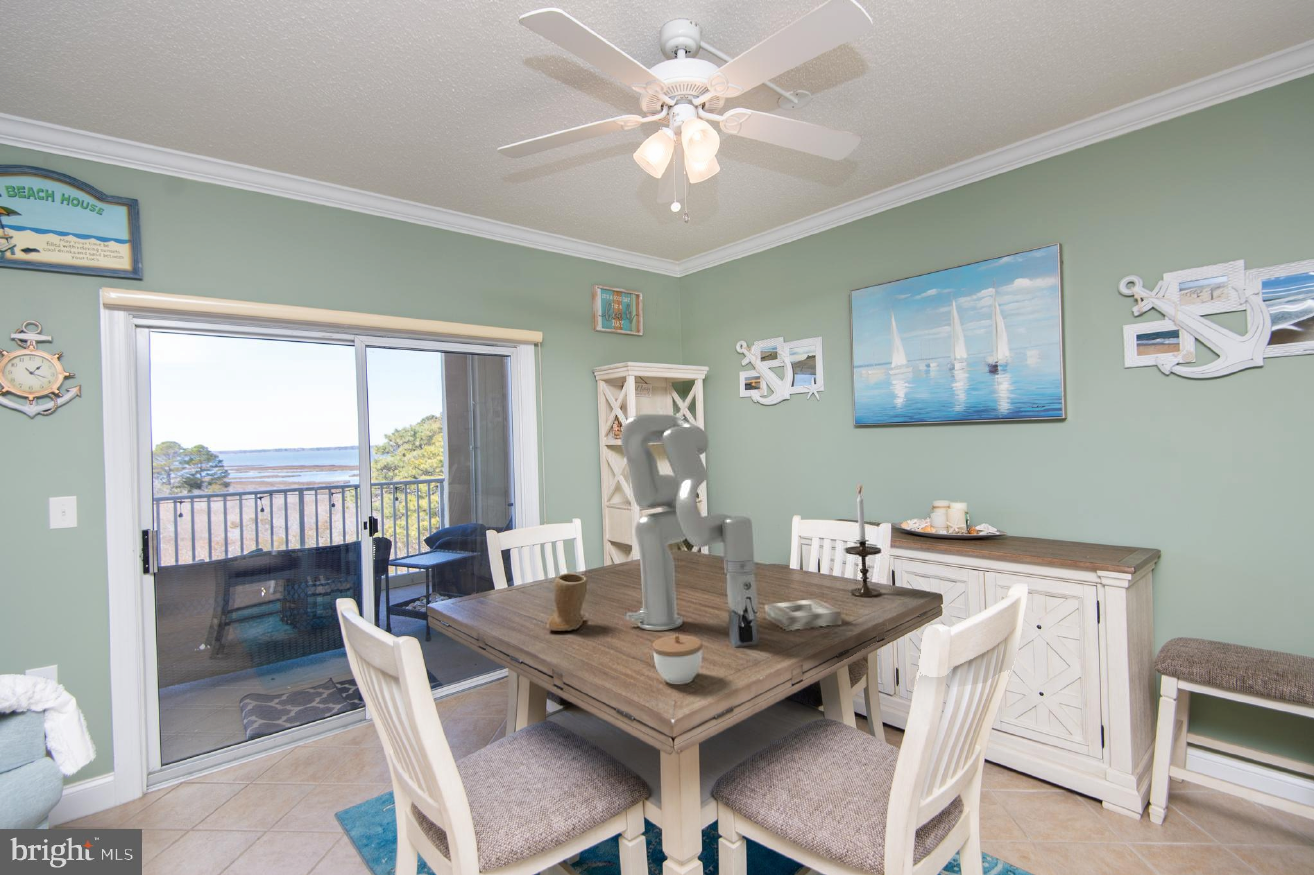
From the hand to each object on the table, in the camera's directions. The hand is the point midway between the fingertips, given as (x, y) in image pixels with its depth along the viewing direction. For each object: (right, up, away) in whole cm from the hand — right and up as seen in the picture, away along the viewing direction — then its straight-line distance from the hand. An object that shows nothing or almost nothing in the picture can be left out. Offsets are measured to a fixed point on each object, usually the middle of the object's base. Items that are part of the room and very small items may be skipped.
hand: (743, 638), depth 148 cm
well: (+19, -1, +16) cm, 25 cm away
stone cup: (-47, -4, +23) cm, 53 cm away
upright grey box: (0, -1, 0) cm, 1 cm away
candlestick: (+45, 0, +41) cm, 61 cm away
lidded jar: (-17, -2, -20) cm, 26 cm away
